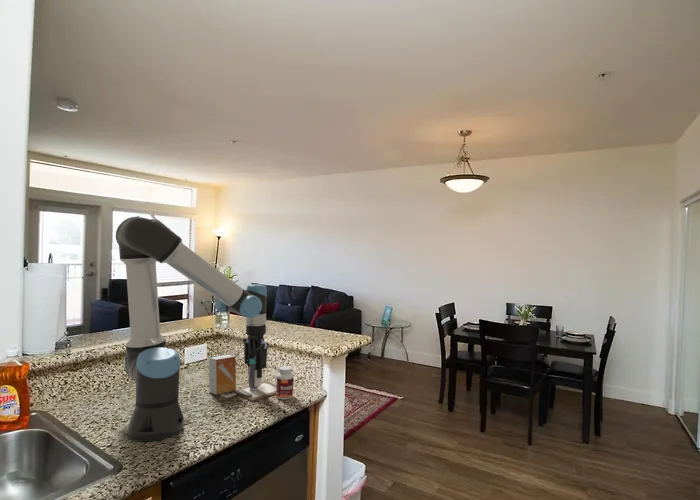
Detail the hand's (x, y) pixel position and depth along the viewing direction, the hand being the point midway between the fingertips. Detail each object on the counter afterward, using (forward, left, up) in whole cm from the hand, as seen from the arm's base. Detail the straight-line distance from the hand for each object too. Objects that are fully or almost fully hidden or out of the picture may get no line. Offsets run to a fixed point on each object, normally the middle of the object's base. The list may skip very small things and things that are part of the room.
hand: (254, 384), depth 153 cm
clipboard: (+1, -2, -3) cm, 3 cm away
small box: (-9, +8, -3) cm, 12 cm away
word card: (-8, +4, -3) cm, 9 cm away
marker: (-1, 0, -2) cm, 2 cm away
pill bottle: (+4, -13, -3) cm, 14 cm away
